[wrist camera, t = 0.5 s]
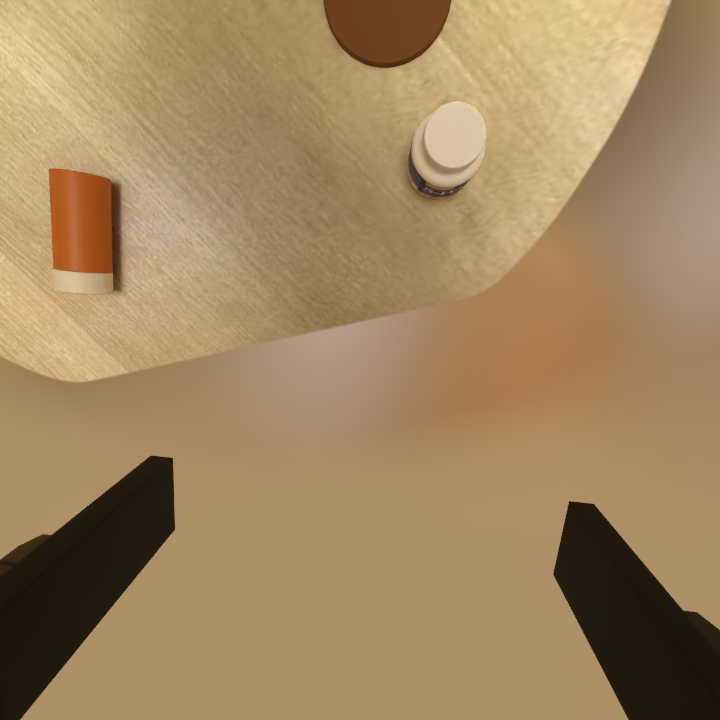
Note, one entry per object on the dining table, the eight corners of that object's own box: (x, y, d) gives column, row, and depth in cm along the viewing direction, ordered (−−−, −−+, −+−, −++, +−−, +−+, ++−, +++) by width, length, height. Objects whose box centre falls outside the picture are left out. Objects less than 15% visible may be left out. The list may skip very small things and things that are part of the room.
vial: (76, 177, 38) (31, 165, 33) (123, 183, 37) (84, 171, 33) (79, 286, 40) (38, 288, 36) (124, 292, 40) (88, 295, 35)
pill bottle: (418, 209, 36) (426, 191, 27) (399, 147, 35) (402, 108, 27) (478, 186, 35) (506, 160, 27) (460, 123, 34) (483, 75, 26)
